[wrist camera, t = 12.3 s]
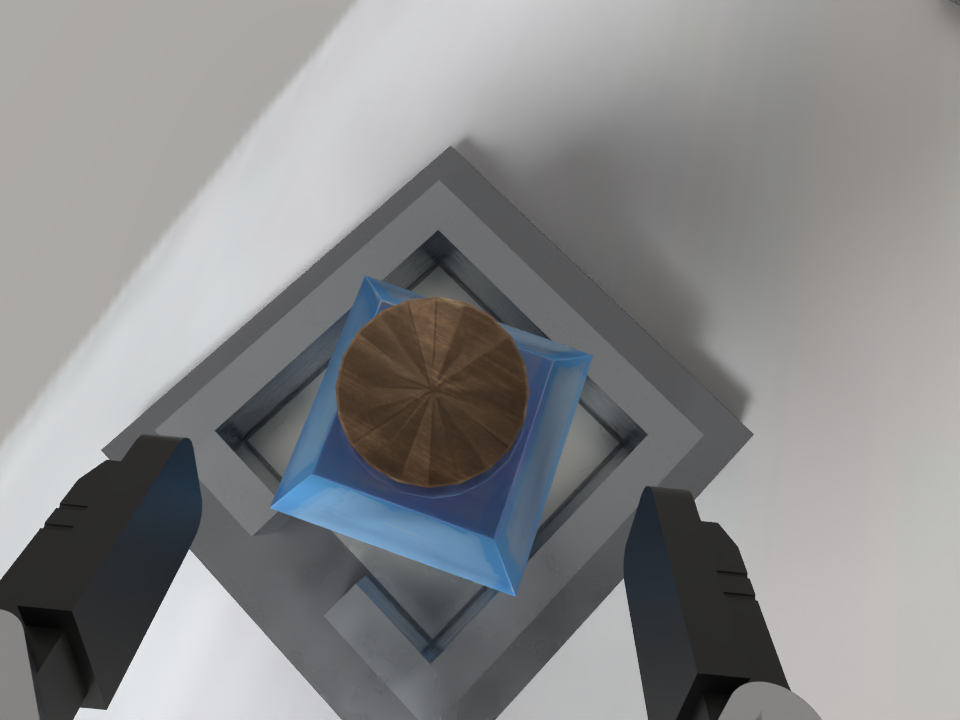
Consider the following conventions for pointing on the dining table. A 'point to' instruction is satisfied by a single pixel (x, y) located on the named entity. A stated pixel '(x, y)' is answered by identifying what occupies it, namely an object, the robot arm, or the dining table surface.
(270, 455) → the grey square frame
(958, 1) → the wooden post with brackets
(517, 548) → the perfume bottle
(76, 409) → the dining table surface
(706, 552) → the robot arm
